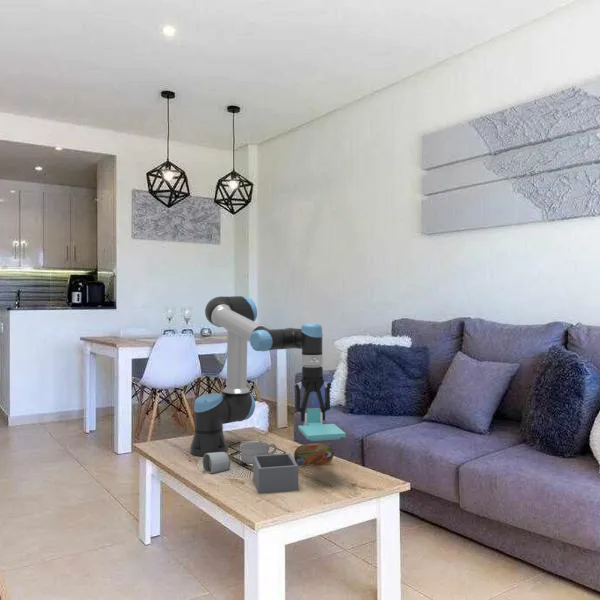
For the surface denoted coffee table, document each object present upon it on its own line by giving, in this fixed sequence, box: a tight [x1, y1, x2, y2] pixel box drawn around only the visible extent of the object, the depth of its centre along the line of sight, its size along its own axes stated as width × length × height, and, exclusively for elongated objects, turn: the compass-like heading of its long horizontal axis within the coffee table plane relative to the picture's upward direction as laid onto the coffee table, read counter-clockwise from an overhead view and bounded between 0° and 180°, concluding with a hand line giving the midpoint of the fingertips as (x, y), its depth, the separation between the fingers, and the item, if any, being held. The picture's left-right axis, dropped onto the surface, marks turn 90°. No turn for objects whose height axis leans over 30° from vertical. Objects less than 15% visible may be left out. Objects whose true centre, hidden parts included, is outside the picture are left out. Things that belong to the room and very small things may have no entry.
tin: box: [293, 442, 334, 467], centre depth 208 cm, size 15×3×8 cm, turn 105°
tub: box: [252, 453, 300, 495], centre depth 184 cm, size 15×13×9 cm
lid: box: [297, 407, 347, 442], centre depth 190 cm, size 21×13×7 cm, turn 12°
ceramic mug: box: [202, 452, 231, 475], centre depth 202 cm, size 11×8×8 cm
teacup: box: [240, 441, 278, 465], centre depth 211 cm, size 14×11×8 cm
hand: (313, 429), depth 200 cm, fingers closed on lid, 5 cm apart
